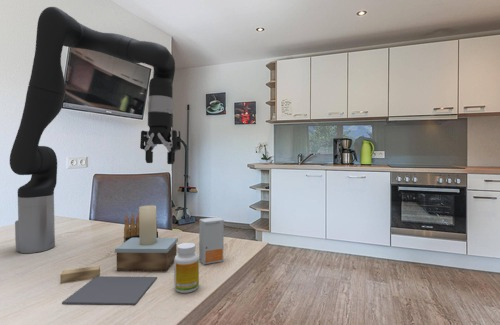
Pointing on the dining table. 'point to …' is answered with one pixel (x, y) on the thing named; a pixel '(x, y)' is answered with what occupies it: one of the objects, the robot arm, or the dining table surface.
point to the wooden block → (79, 274)
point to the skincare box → (211, 240)
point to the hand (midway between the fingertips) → (159, 163)
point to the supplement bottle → (186, 268)
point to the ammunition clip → (133, 228)
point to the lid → (147, 235)
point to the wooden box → (146, 261)
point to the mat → (111, 291)
